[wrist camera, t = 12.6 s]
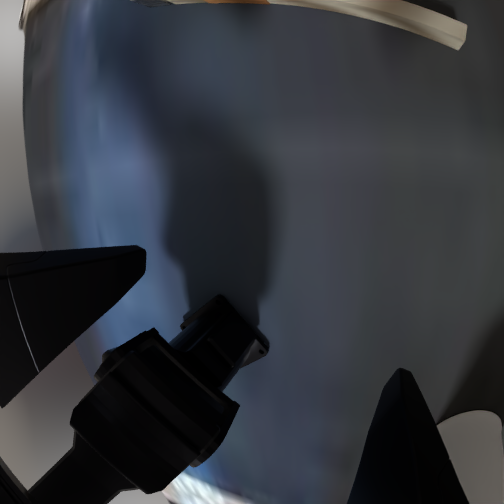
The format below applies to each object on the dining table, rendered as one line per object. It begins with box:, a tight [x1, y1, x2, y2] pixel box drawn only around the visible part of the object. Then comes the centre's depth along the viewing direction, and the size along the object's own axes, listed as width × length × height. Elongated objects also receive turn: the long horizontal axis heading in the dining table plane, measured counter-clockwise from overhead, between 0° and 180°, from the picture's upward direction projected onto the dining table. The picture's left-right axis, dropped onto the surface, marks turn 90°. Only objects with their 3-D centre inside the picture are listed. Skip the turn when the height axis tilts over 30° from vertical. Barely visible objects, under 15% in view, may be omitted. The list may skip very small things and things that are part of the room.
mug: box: [437, 410, 504, 504], centre depth 14 cm, size 12×9×12 cm
